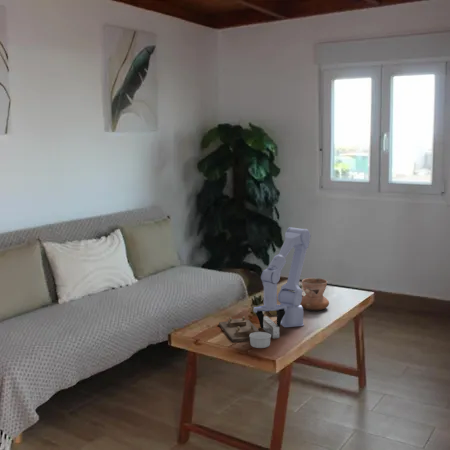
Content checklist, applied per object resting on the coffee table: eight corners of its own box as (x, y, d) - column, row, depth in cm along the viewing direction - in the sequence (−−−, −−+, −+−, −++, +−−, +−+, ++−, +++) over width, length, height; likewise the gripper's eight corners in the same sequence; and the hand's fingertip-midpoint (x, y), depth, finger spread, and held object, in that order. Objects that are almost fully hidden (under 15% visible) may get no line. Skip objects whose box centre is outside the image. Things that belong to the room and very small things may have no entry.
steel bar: (261, 327, 272) (261, 316, 271) (267, 326, 273) (267, 316, 272) (273, 339, 257) (273, 327, 256) (279, 338, 257) (279, 327, 257)
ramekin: (244, 345, 249) (244, 335, 248) (259, 340, 255) (259, 330, 255) (260, 350, 243) (260, 340, 242) (275, 345, 249) (275, 335, 248)
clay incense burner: (319, 315, 289) (320, 286, 287) (292, 310, 297) (293, 282, 295) (335, 306, 304) (336, 278, 301) (309, 302, 312) (310, 275, 310)
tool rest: (248, 322, 279) (248, 312, 278) (264, 339, 256) (264, 328, 255) (218, 324, 275) (218, 315, 275) (232, 342, 252) (232, 331, 252)
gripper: (257, 300, 257) (256, 331, 259) (289, 297, 260) (288, 328, 262) (252, 295, 263) (252, 326, 265) (283, 293, 267) (283, 323, 269)
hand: (270, 326), depth 264 cm, fingers open, 7 cm apart
